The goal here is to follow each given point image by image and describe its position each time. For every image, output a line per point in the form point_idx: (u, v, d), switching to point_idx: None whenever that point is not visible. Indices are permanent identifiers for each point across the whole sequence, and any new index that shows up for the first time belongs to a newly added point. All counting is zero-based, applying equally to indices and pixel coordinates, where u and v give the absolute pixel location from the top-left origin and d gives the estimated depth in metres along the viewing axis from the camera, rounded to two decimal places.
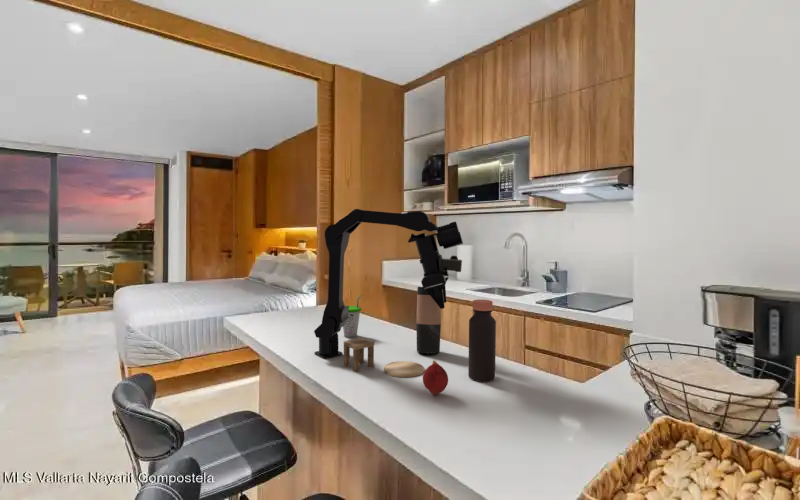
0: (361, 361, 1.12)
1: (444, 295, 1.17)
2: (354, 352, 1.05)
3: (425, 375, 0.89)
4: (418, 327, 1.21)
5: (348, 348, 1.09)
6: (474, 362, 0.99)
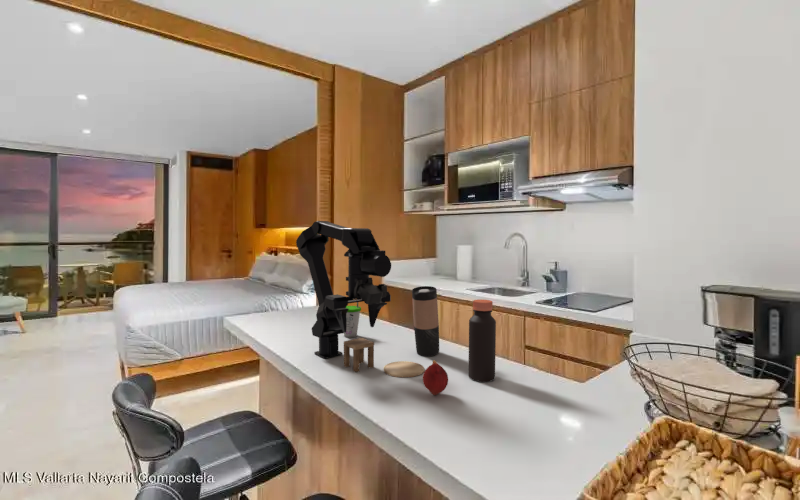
0: (361, 361, 1.12)
1: (372, 320, 1.11)
2: (354, 352, 1.05)
3: (425, 375, 0.89)
4: (415, 331, 1.19)
5: (348, 348, 1.09)
6: (474, 362, 0.99)
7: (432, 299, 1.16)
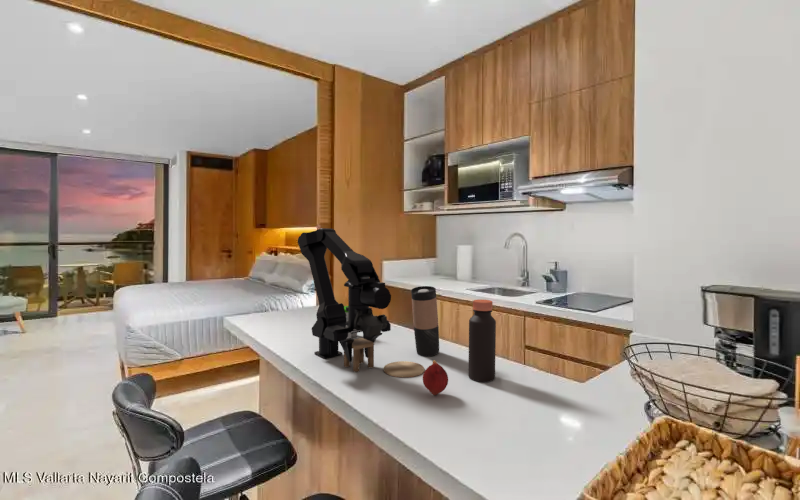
0: (361, 361, 1.12)
1: (367, 350, 1.11)
2: (354, 352, 1.05)
3: (425, 375, 0.89)
4: (415, 331, 1.19)
5: None
6: (474, 362, 0.99)
7: (430, 299, 1.16)
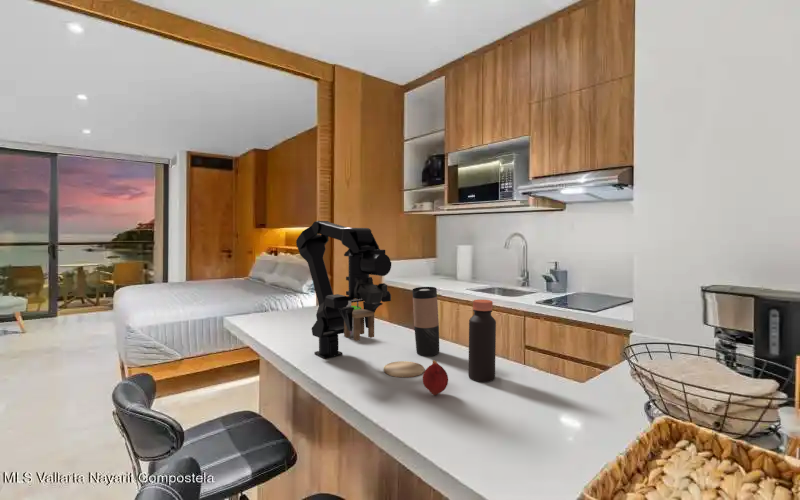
0: (361, 332, 1.12)
1: None
2: (354, 321, 1.05)
3: (425, 375, 0.89)
4: (415, 330, 1.20)
5: None
6: (474, 362, 0.99)
7: (431, 298, 1.18)
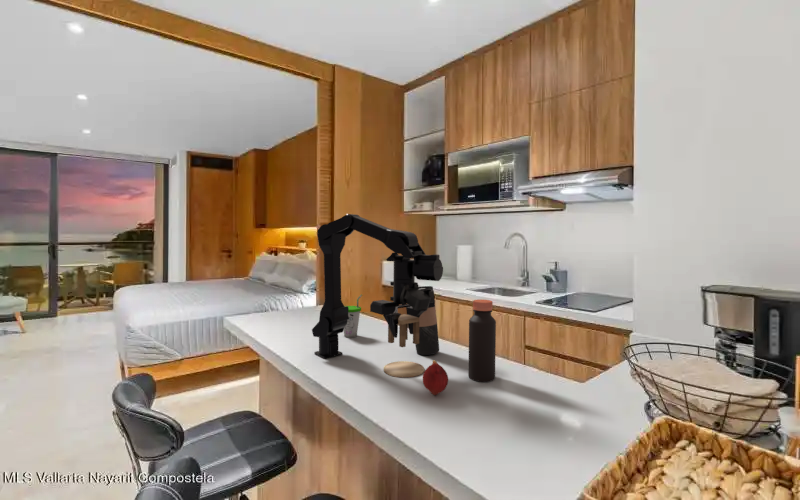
0: None
1: (412, 326, 1.08)
2: (400, 327, 1.02)
3: (425, 375, 0.89)
4: None
5: None
6: (474, 362, 0.99)
7: None
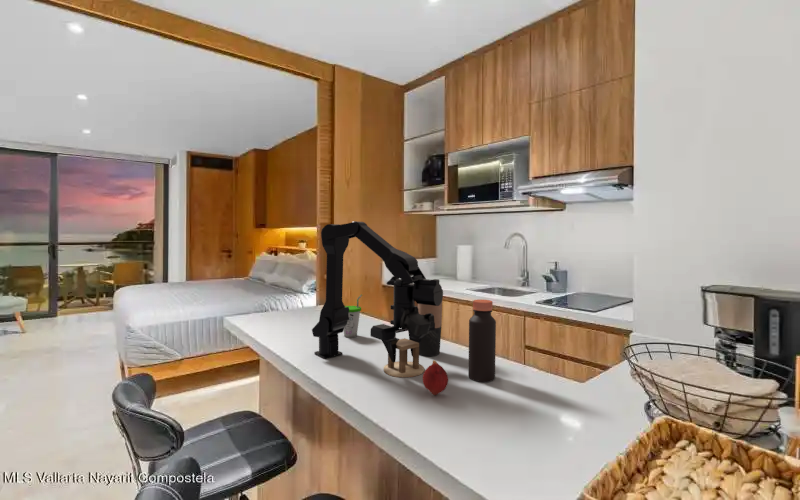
0: None
1: None
2: (400, 353, 1.03)
3: (425, 375, 0.89)
4: None
5: None
6: (474, 362, 0.99)
7: None
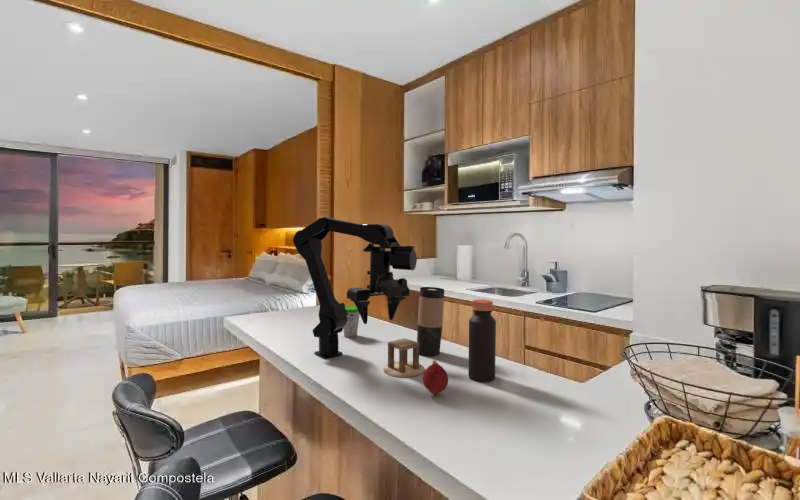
0: None
1: (392, 312, 1.16)
2: (400, 353, 1.03)
3: (425, 375, 0.89)
4: (418, 328, 1.21)
5: (393, 349, 1.07)
6: (474, 362, 0.99)
7: (436, 298, 1.18)
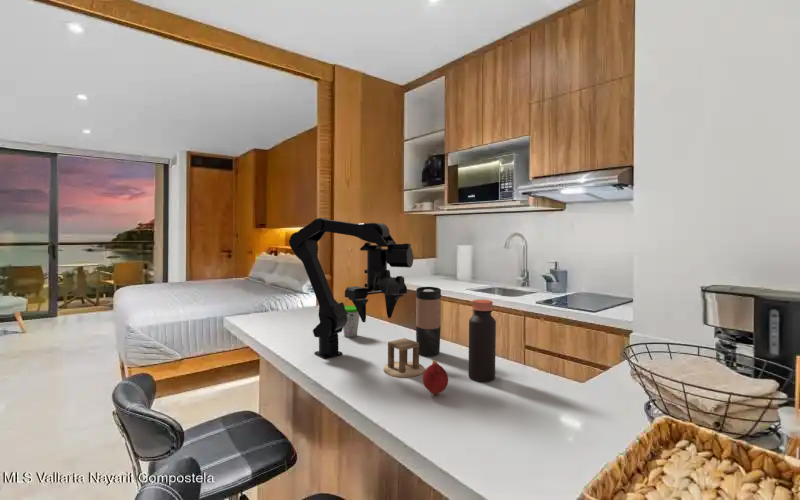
0: None
1: (390, 310, 1.16)
2: (400, 353, 1.03)
3: (425, 375, 0.89)
4: (416, 329, 1.21)
5: (393, 349, 1.07)
6: (474, 362, 0.99)
7: (433, 299, 1.16)
